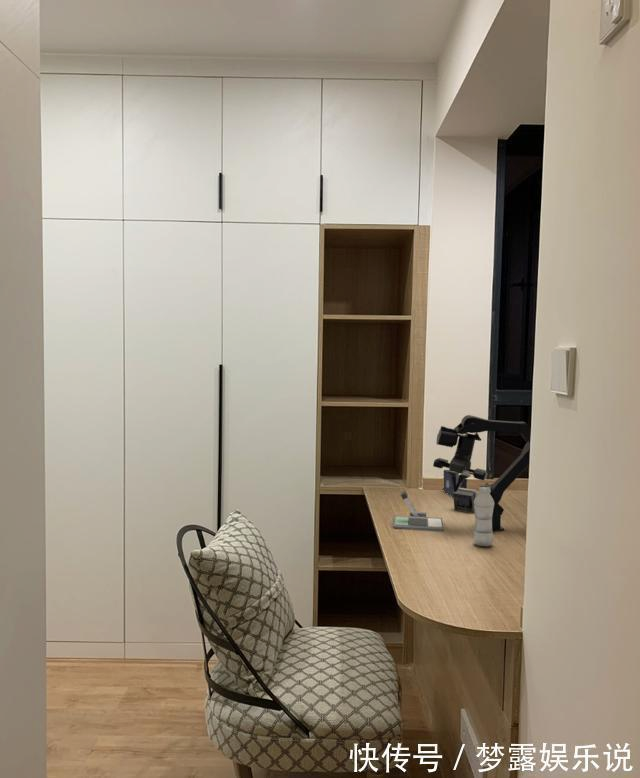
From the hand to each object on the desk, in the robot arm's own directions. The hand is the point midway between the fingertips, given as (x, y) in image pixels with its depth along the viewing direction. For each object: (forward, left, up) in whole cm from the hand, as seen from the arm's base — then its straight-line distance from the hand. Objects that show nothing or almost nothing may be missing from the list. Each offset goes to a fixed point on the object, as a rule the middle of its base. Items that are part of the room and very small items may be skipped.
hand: (455, 491), depth 226 cm
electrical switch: (+20, -13, -13) cm, 27 cm away
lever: (+6, +12, -11) cm, 17 cm away
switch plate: (+6, +12, -13) cm, 18 cm away
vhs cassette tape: (+42, -18, -13) cm, 47 cm away
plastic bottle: (-20, -1, -13) cm, 24 cm away
